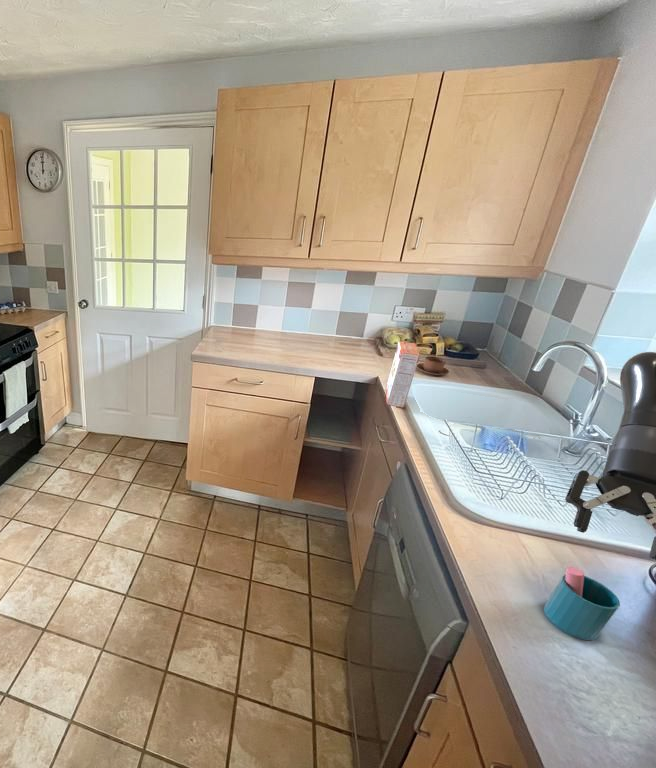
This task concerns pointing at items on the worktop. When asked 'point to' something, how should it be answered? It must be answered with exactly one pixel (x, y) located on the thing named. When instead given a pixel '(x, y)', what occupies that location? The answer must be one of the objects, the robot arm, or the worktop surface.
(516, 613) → the worktop surface
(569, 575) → the pink cylinder
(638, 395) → the robot arm
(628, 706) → the worktop surface
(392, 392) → the cracker box
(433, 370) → the cup and saucer
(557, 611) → the teal cup
